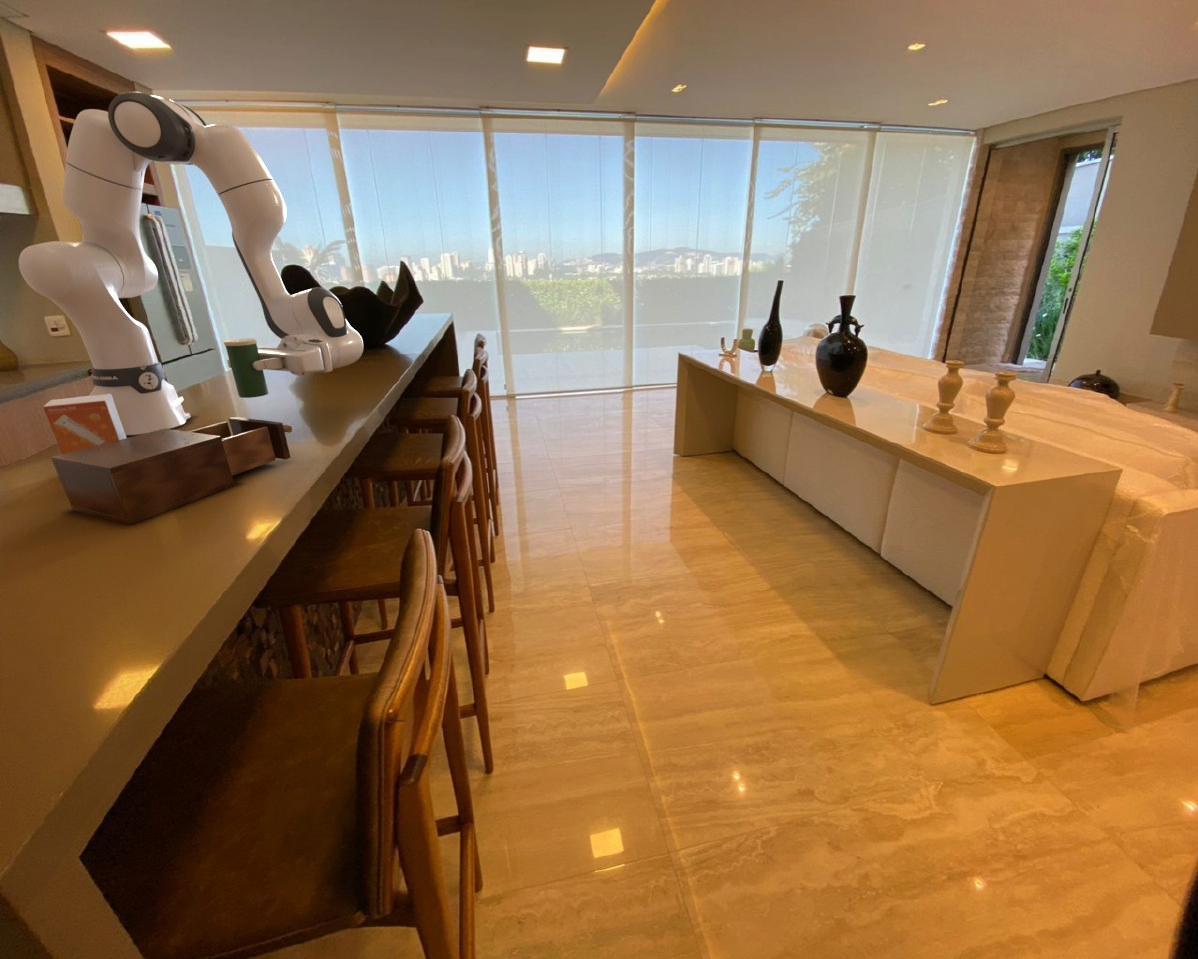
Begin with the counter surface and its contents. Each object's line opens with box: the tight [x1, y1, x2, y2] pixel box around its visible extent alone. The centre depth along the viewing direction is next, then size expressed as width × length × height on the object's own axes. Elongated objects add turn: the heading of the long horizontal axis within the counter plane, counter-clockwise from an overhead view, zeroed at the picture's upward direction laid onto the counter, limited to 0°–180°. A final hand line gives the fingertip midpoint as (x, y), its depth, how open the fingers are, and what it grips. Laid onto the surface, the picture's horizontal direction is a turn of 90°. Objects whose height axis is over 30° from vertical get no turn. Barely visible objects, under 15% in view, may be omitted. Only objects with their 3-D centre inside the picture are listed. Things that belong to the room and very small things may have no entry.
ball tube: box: [223, 337, 269, 399], centre depth 106 cm, size 5×5×11 cm
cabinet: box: [50, 428, 236, 525], centre depth 82 cm, size 16×14×9 cm
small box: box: [42, 394, 127, 455], centre depth 94 cm, size 8×6×13 cm
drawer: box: [186, 416, 293, 477], centre depth 95 cm, size 19×12×7 cm, turn 159°
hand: (242, 365), depth 105 cm, fingers closed on ball tube, 5 cm apart
